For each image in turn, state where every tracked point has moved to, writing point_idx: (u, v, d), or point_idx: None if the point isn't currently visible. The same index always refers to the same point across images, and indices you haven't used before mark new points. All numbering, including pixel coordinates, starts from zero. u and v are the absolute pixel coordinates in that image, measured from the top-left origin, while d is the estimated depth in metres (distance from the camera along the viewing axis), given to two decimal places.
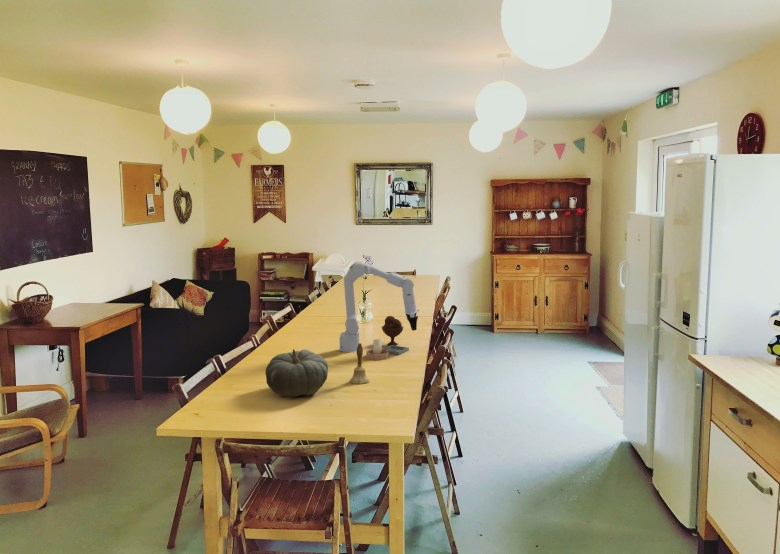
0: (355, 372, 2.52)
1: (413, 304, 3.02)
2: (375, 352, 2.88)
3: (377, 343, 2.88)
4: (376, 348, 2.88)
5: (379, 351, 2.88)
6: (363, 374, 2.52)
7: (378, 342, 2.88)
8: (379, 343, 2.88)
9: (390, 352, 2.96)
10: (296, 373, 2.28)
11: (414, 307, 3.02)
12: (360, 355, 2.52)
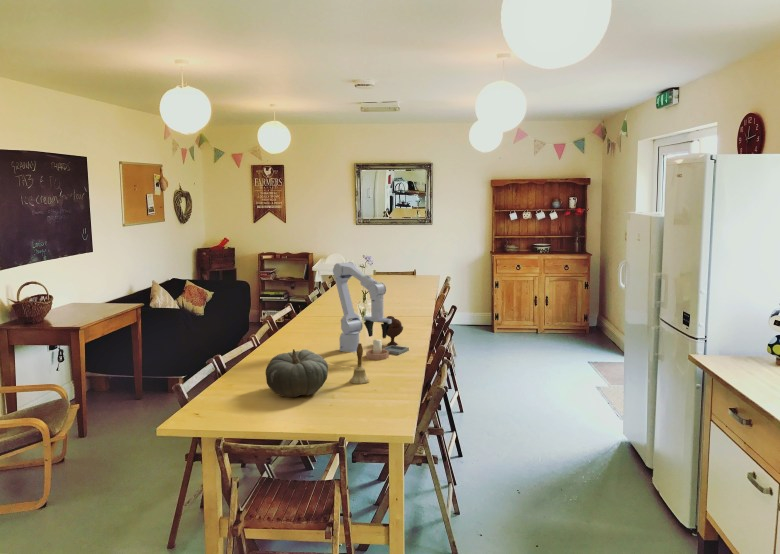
0: (355, 372, 2.52)
1: (371, 311, 2.87)
2: (375, 352, 2.88)
3: (377, 343, 2.88)
4: (376, 348, 2.88)
5: (379, 351, 2.88)
6: (363, 374, 2.52)
7: (378, 342, 2.88)
8: (379, 343, 2.88)
9: (390, 352, 2.96)
10: (296, 373, 2.28)
11: (371, 314, 2.87)
12: (360, 355, 2.52)
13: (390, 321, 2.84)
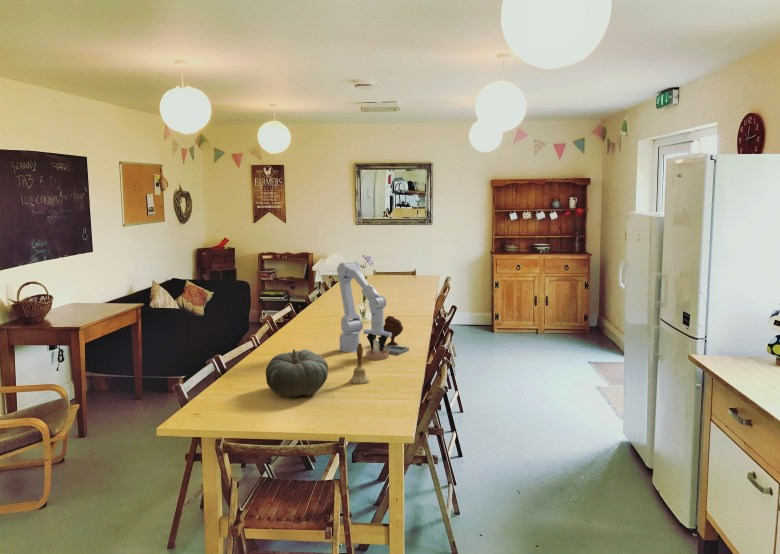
0: (355, 372, 2.52)
1: (371, 324, 2.88)
2: (375, 352, 2.88)
3: (377, 343, 2.88)
4: (376, 348, 2.88)
5: (379, 351, 2.88)
6: (363, 374, 2.52)
7: (378, 342, 2.88)
8: None
9: (390, 352, 2.96)
10: (296, 373, 2.28)
11: (371, 327, 2.88)
12: (360, 355, 2.52)
13: (390, 334, 2.85)
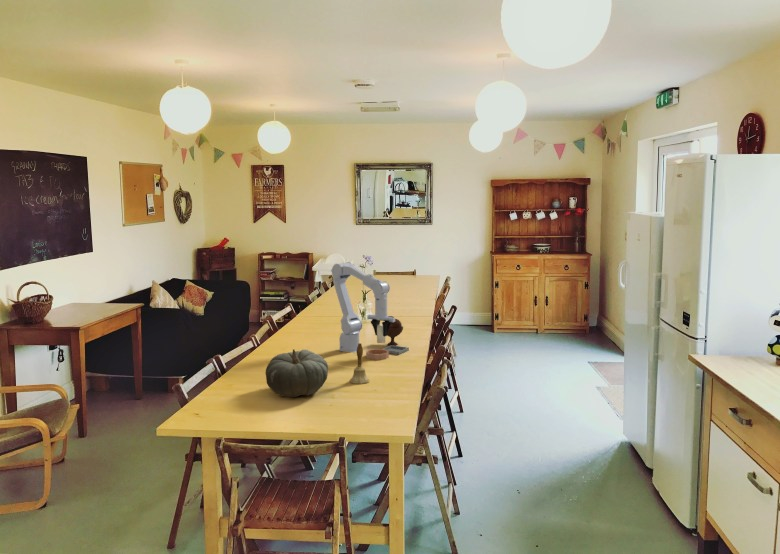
0: (355, 372, 2.52)
1: (375, 309, 2.89)
2: (379, 337, 2.90)
3: (381, 328, 2.89)
4: (380, 333, 2.89)
5: (383, 336, 2.90)
6: (363, 374, 2.52)
7: (382, 327, 2.89)
8: None
9: (390, 352, 2.96)
10: (296, 373, 2.28)
11: (375, 313, 2.89)
12: (360, 355, 2.52)
13: (394, 319, 2.86)
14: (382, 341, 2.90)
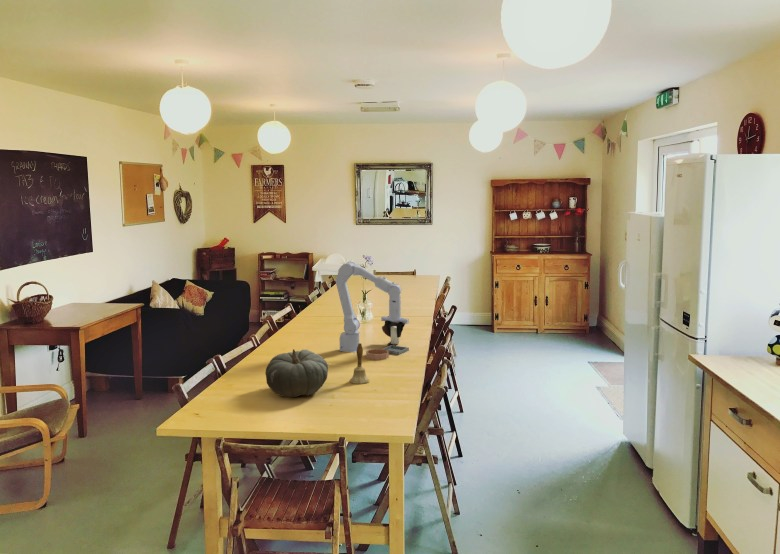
0: (355, 372, 2.52)
1: (389, 311, 2.98)
2: (392, 338, 2.98)
3: (394, 330, 2.97)
4: (394, 334, 2.97)
5: (396, 337, 2.98)
6: (363, 374, 2.52)
7: (395, 329, 2.97)
8: (396, 330, 2.97)
9: (390, 352, 2.96)
10: (296, 373, 2.28)
11: (389, 314, 2.97)
12: (360, 355, 2.52)
13: (407, 321, 2.95)
14: (396, 342, 2.98)
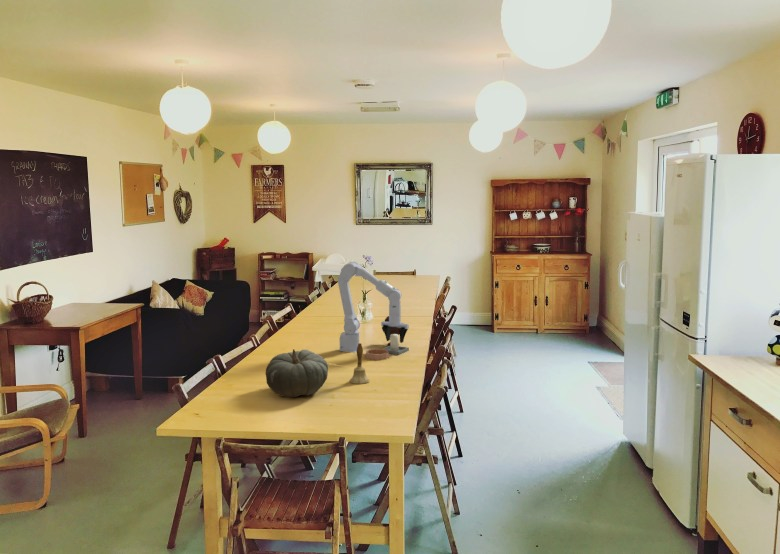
0: (355, 372, 2.52)
1: (389, 316, 2.98)
2: (392, 346, 2.98)
3: (394, 337, 2.97)
4: (393, 342, 2.98)
5: (396, 345, 2.98)
6: (363, 374, 2.52)
7: (395, 336, 2.97)
8: (396, 337, 2.98)
9: (390, 352, 2.96)
10: (296, 373, 2.28)
11: (389, 319, 2.98)
12: (360, 355, 2.52)
13: (407, 326, 2.95)
14: (395, 350, 2.98)
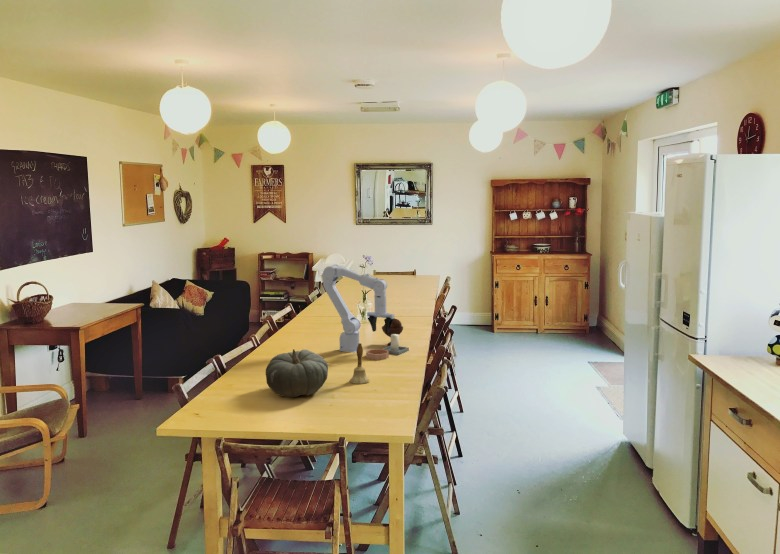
0: (355, 372, 2.52)
1: None
2: (392, 346, 2.98)
3: (394, 338, 2.97)
4: (394, 342, 2.98)
5: (396, 345, 2.98)
6: (363, 374, 2.52)
7: (395, 337, 2.97)
8: (396, 338, 2.98)
9: (390, 352, 2.96)
10: (296, 373, 2.28)
11: None
12: (360, 355, 2.52)
13: (393, 316, 2.94)
14: (396, 350, 2.98)
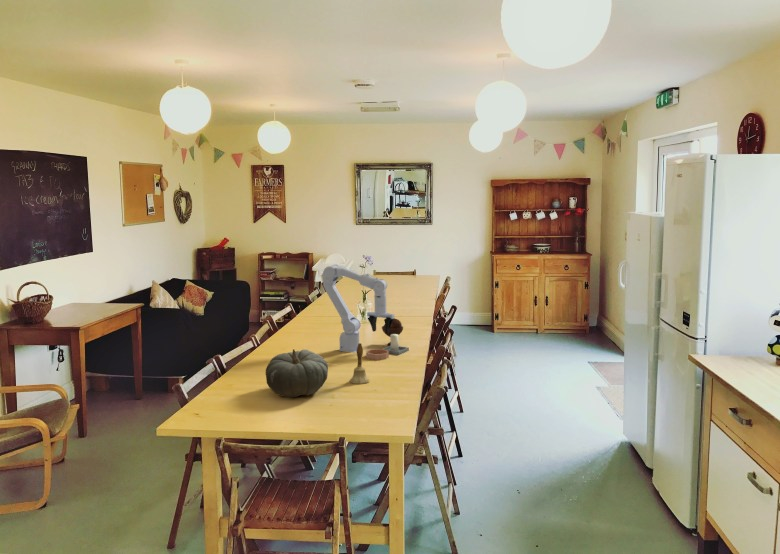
0: (355, 372, 2.52)
1: None
2: (392, 346, 2.98)
3: (394, 337, 2.97)
4: (394, 342, 2.98)
5: (396, 345, 2.98)
6: (363, 374, 2.52)
7: (395, 337, 2.97)
8: (396, 337, 2.98)
9: (390, 352, 2.96)
10: (296, 373, 2.28)
11: None
12: (360, 355, 2.52)
13: (393, 316, 2.94)
14: (396, 350, 2.98)
